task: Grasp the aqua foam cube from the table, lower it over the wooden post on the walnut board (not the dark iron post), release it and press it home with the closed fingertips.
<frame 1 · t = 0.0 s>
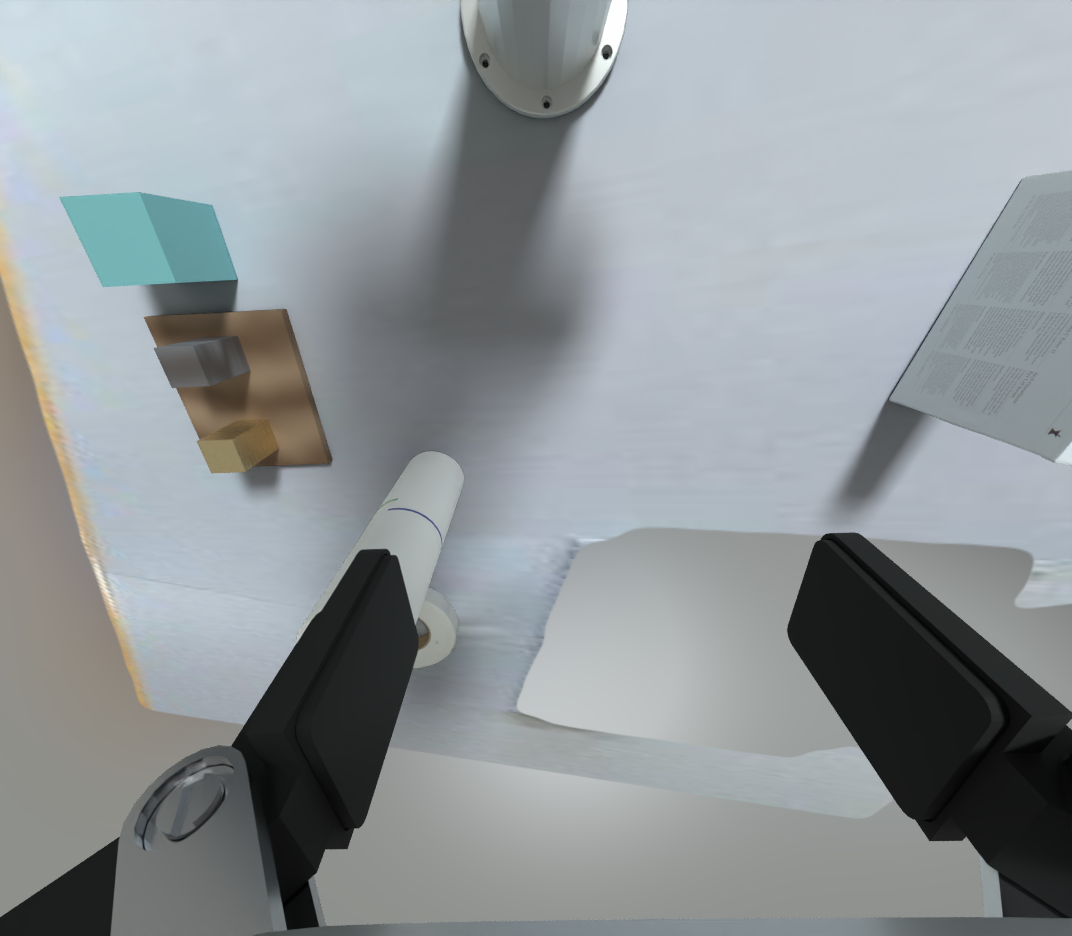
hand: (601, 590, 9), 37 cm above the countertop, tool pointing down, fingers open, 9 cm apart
skincare box: (968, 305, 41), on the countertop
aqua foam cube: (193, 245, 39), on the countertop
cylindrical container: (435, 476, 50), on the countertop
walnut board: (249, 393, 45), on the countertop
wooden post: (263, 431, 47), resting on walnut board
roll of tape: (408, 617, 61), on the countertop
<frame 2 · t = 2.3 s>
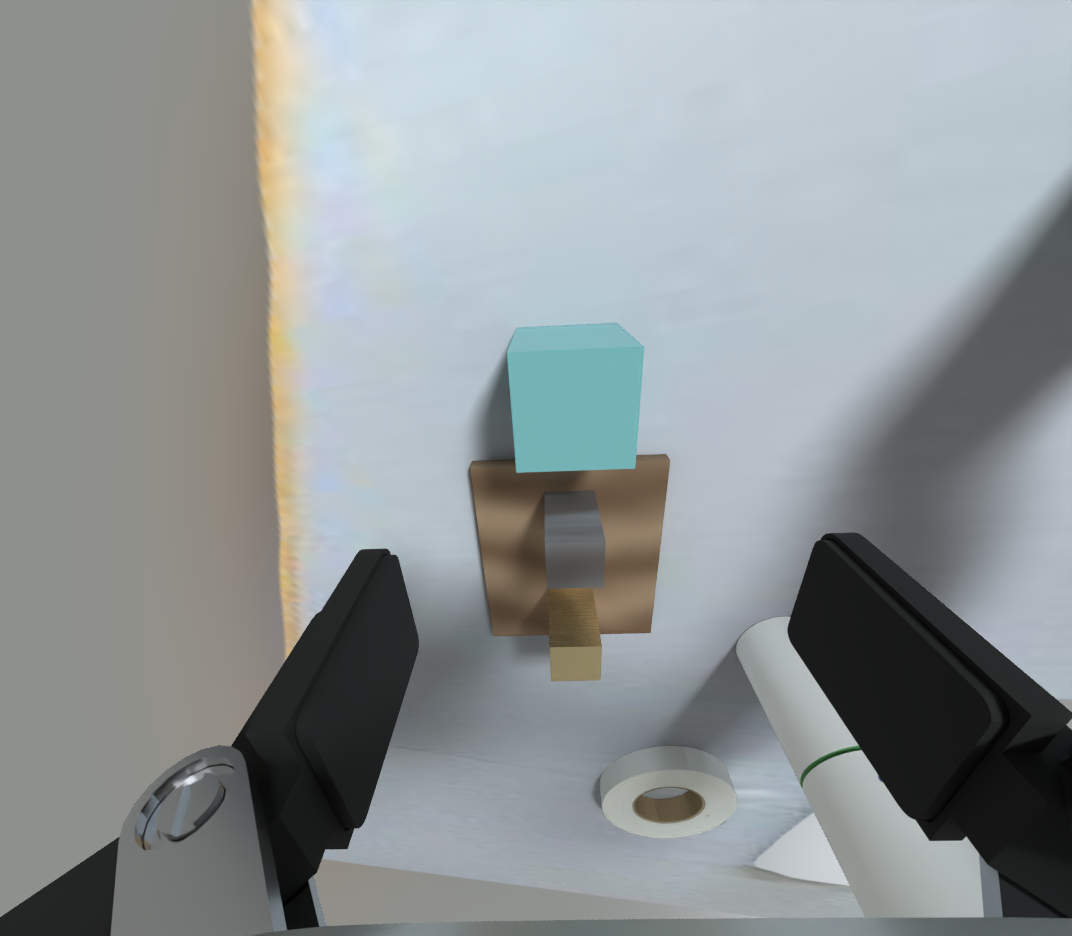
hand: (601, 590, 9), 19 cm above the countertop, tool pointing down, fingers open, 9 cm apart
aqua foam cube: (567, 375, 27), on the countertop
cylindrical container: (774, 642, 38), on the countertop
walnut board: (569, 551, 33), on the countertop
wooden post: (569, 592, 35), resting on walnut board
roll of tape: (662, 777, 49), on the countertop
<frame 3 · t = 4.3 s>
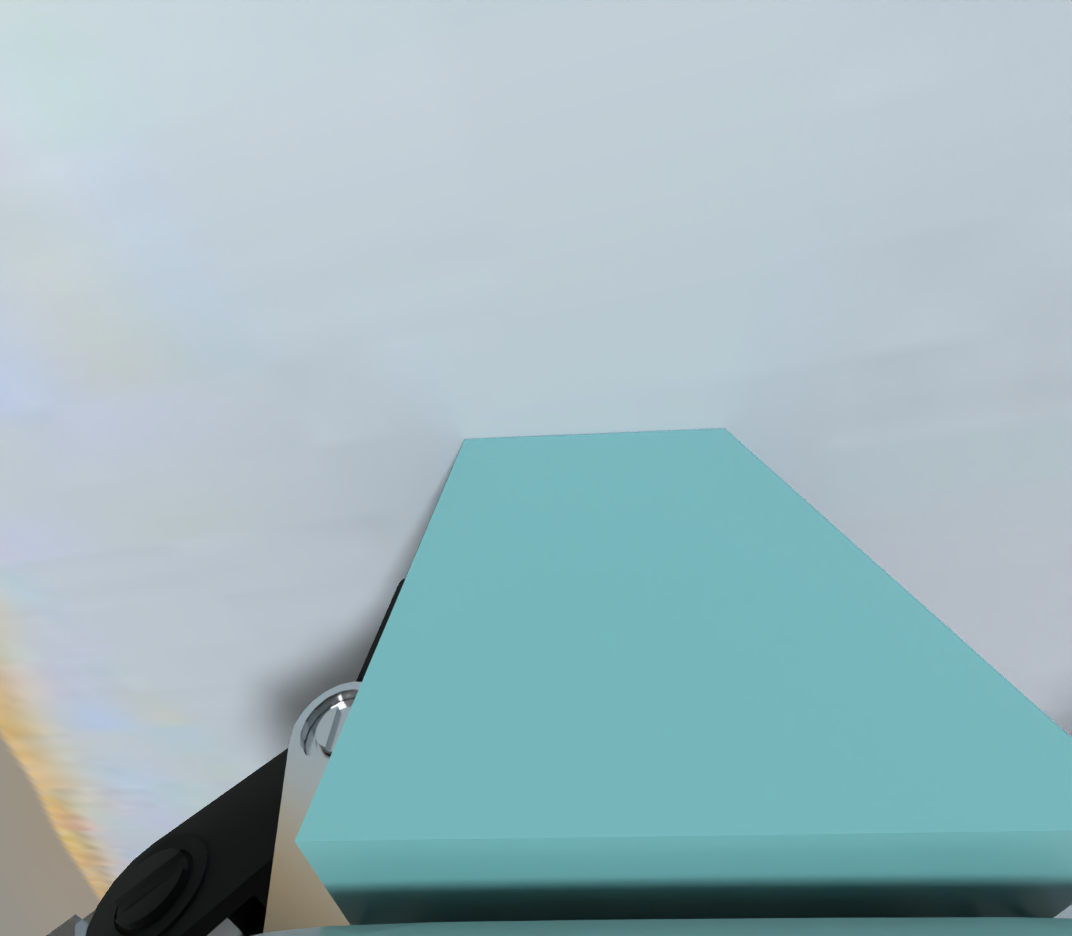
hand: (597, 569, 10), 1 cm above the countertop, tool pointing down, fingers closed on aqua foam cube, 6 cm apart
aqua foam cube: (591, 539, 11), on the countertop, touching gripper
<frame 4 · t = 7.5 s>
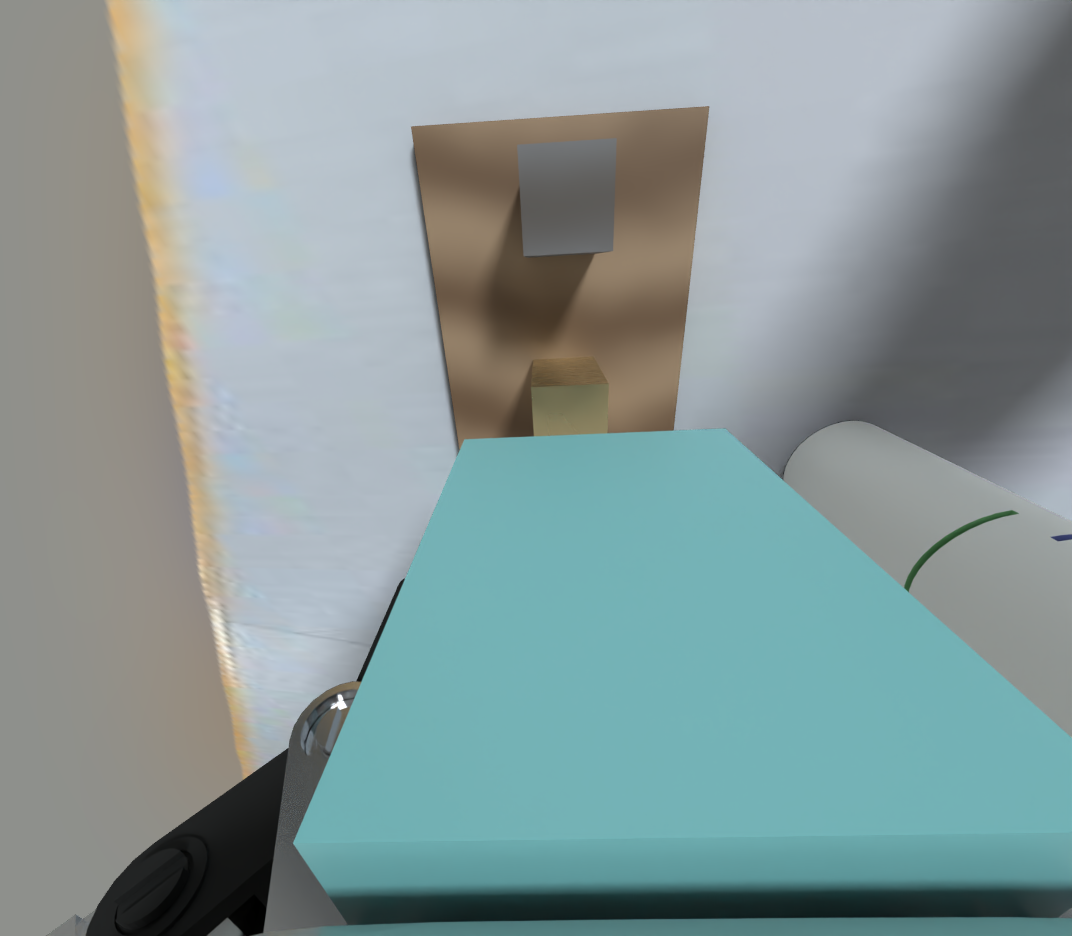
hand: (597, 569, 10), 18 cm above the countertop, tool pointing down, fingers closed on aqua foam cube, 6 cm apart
aqua foam cube: (591, 539, 11), point 16 cm above the countertop, touching gripper
cylindrical container: (834, 467, 29), on the countertop
walnut board: (561, 307, 24), on the countertop
wooden post: (563, 383, 26), resting on walnut board
when the fingers open (4 cm above the countertop, at t = 10.5 s): aqua foam cube drops 1 cm, resting on walnut board.
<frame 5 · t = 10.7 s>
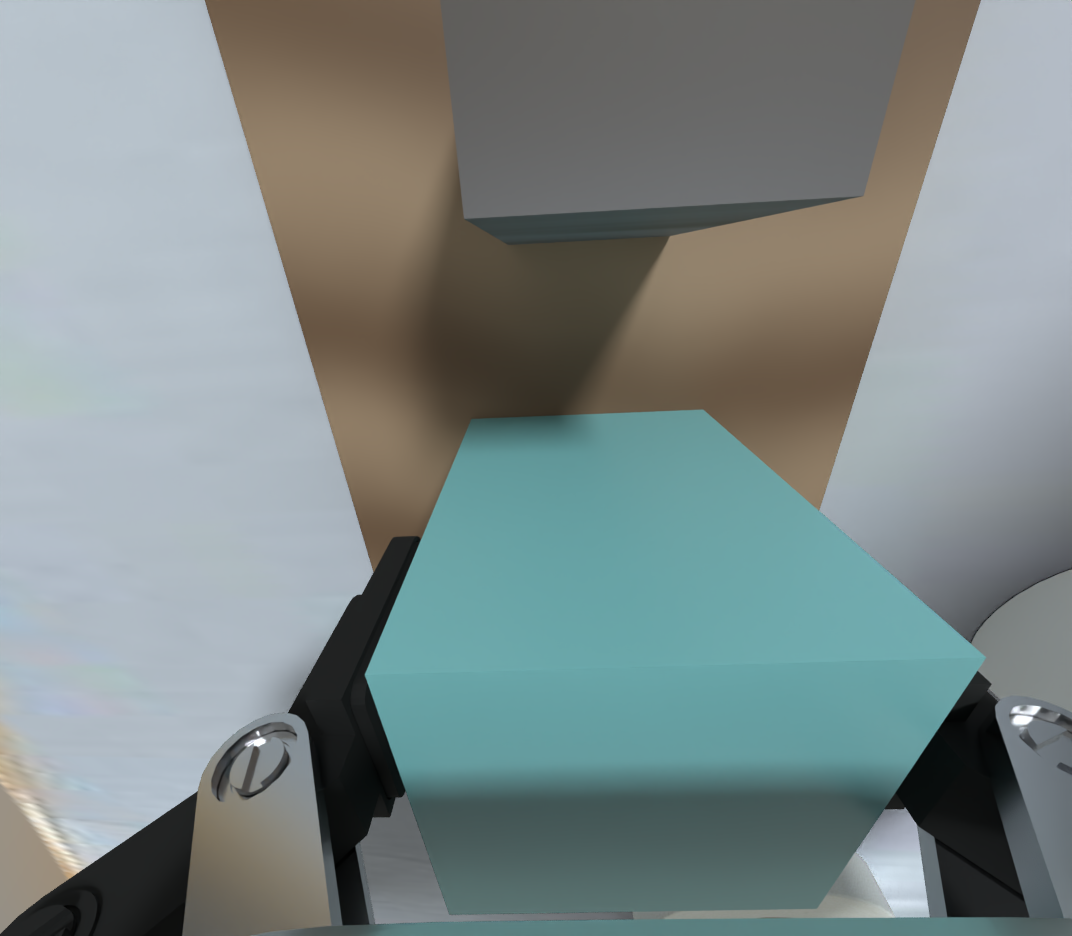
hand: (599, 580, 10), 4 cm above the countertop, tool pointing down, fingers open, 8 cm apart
aqua foam cube: (585, 511, 12), point 1 cm above the countertop, touching walnut board
cylindrical container: (1063, 627, 16), on the countertop
walnut board: (583, 354, 11), on the countertop
roll of tape: (743, 880, 27), on the countertop
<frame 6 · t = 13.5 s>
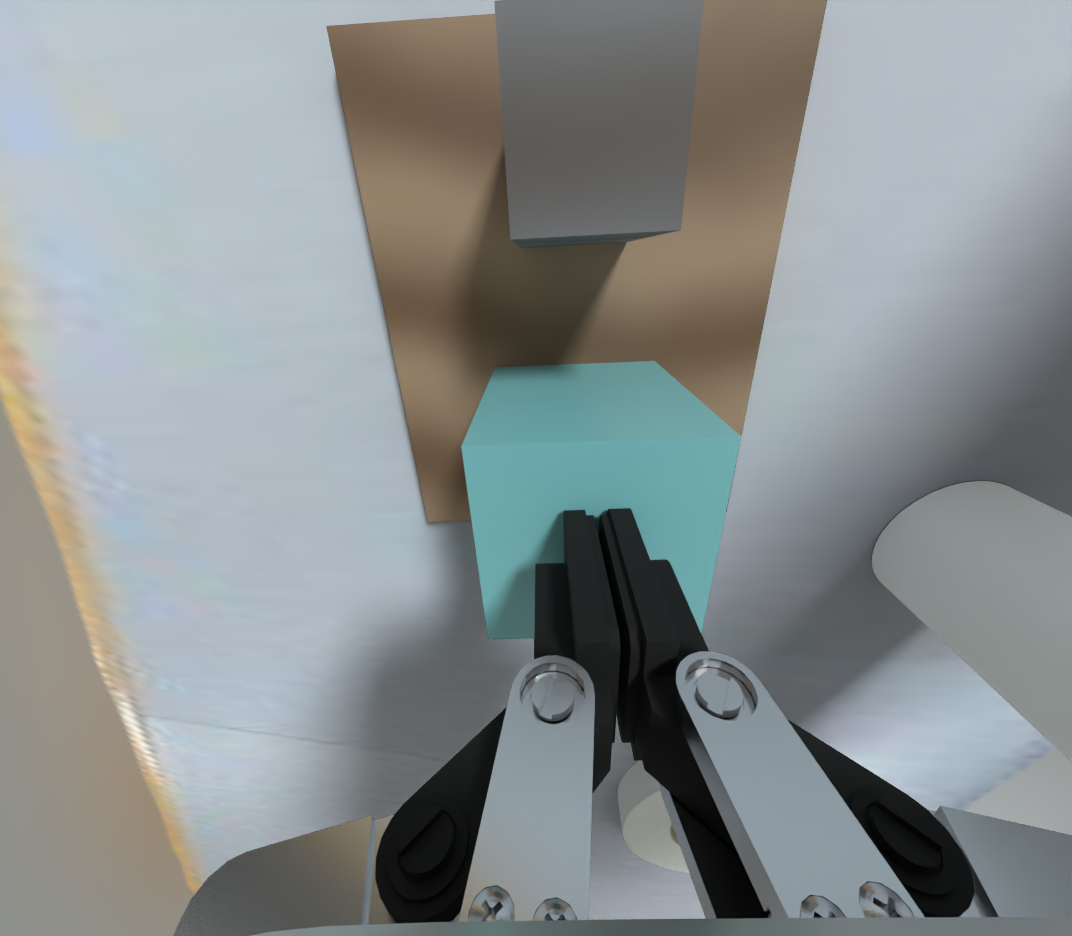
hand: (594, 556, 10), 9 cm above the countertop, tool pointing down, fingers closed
aqua foam cube: (574, 437, 17), point 1 cm above the countertop, touching gripper, walnut board
cylindrical container: (943, 539, 21), on the countertop
walnut board: (572, 323, 16), on the countertop
roll of tape: (713, 783, 32), on the countertop
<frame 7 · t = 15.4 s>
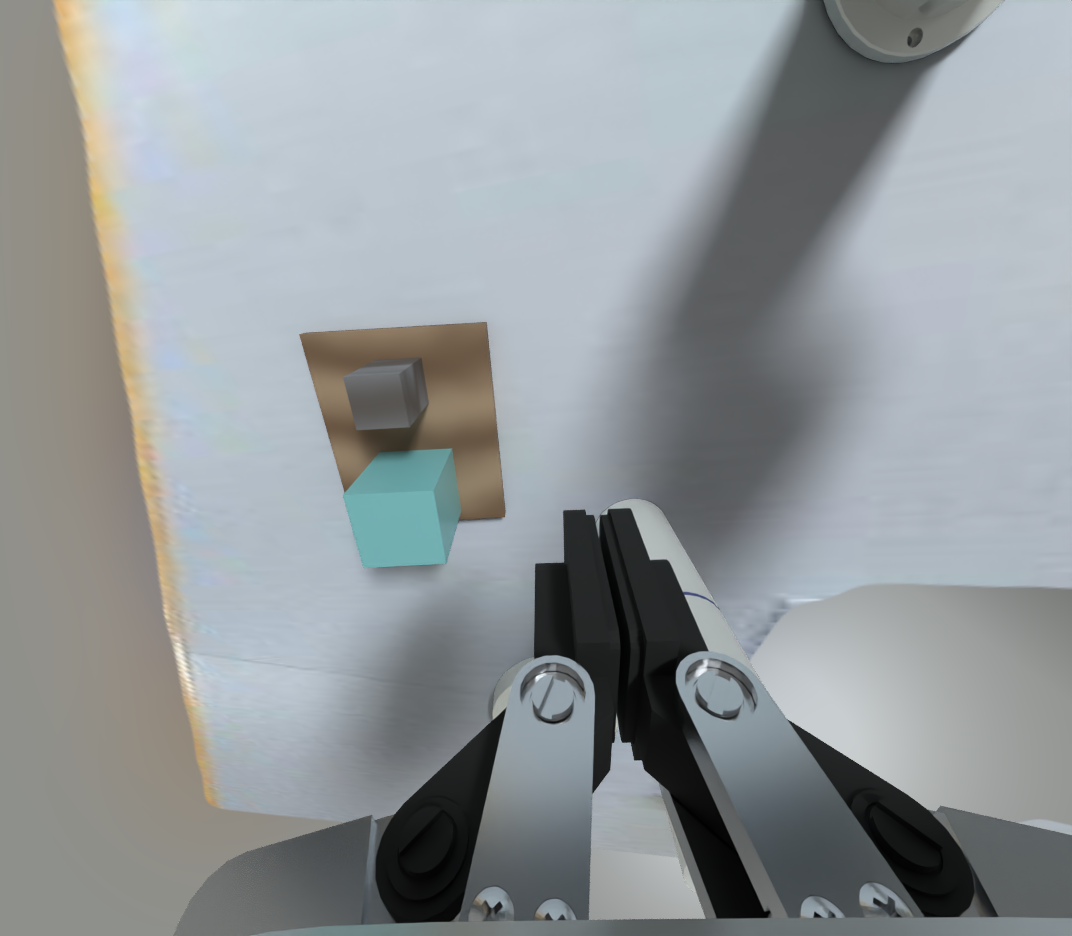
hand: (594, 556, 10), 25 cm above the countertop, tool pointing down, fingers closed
aqua foam cube: (421, 482, 36), point 1 cm above the countertop, touching walnut board
cylindrical container: (629, 529, 40), on the countertop
walnut board: (415, 431, 35), on the countertop
roll of tape: (556, 693, 50), on the countertop
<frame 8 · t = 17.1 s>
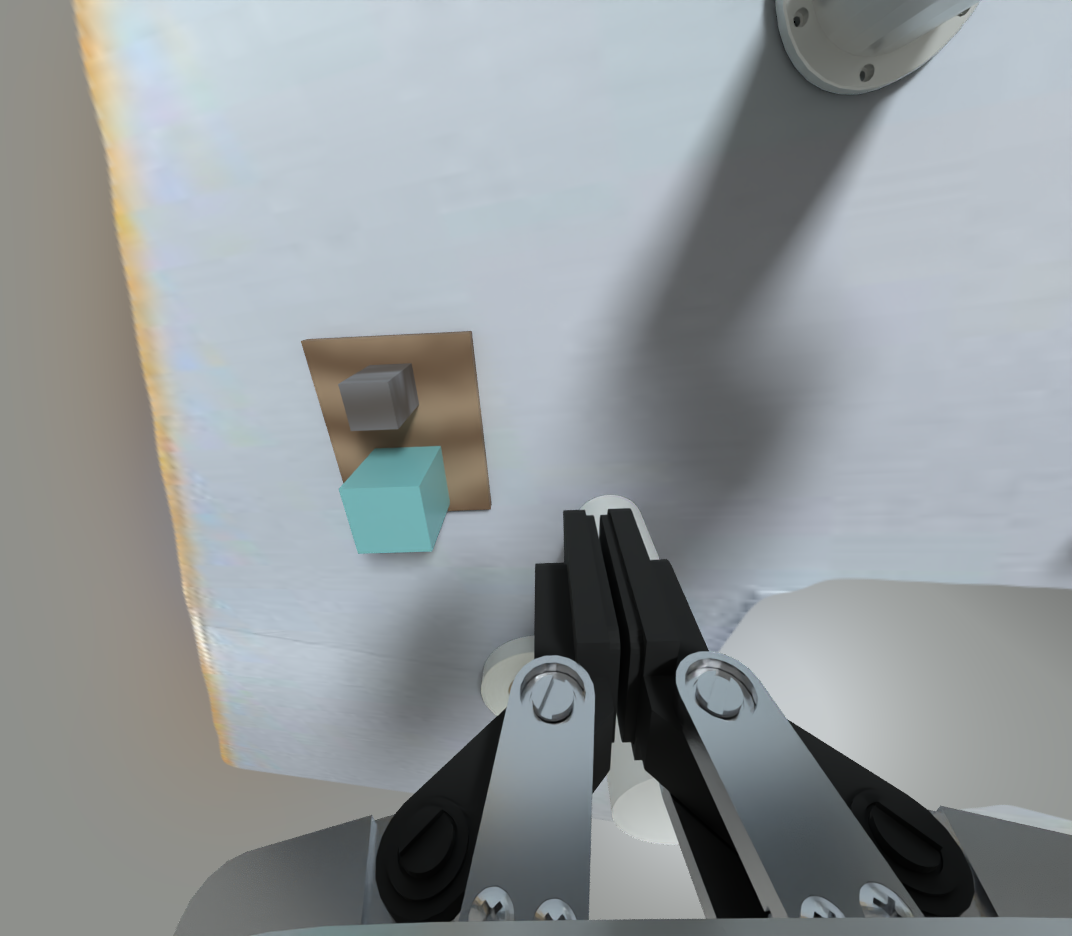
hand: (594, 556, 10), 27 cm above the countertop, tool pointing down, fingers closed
aqua foam cube: (413, 476, 39), point 1 cm above the countertop, touching walnut board
cylindrical container: (607, 522, 43), on the countertop
walnut board: (408, 429, 38), on the countertop
roll of tape: (541, 672, 54), on the countertop
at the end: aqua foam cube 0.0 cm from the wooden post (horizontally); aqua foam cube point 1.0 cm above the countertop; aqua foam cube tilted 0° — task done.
